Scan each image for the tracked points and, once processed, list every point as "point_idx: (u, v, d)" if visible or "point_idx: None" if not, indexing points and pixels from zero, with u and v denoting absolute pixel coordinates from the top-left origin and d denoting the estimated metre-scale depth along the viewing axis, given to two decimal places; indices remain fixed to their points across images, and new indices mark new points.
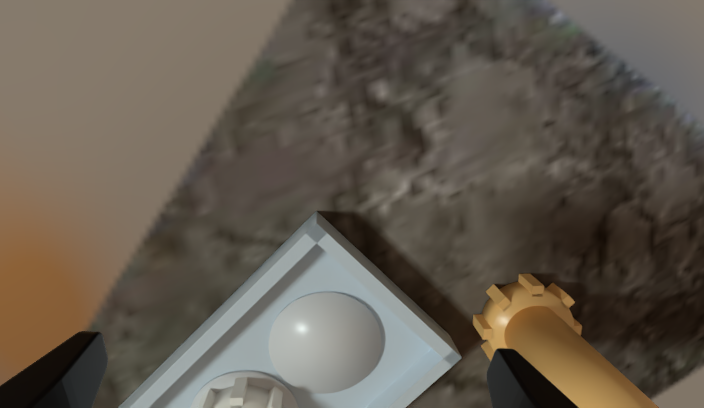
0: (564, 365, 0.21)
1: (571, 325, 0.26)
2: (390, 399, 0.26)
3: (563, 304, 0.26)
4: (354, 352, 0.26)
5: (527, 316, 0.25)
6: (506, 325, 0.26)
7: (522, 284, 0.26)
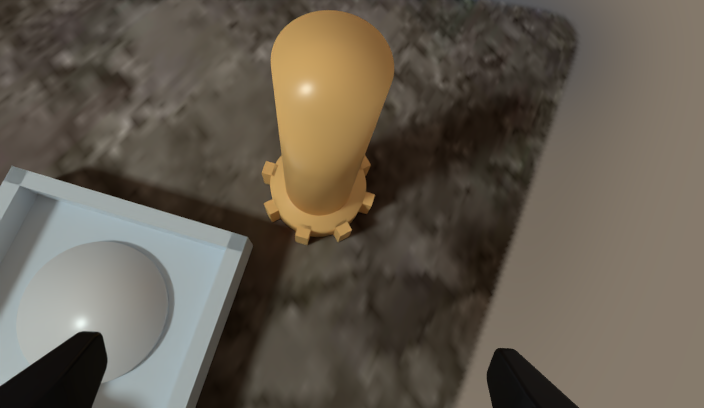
0: None
1: None
2: None
3: None
4: (133, 303, 0.21)
5: None
6: (285, 188, 0.23)
7: None
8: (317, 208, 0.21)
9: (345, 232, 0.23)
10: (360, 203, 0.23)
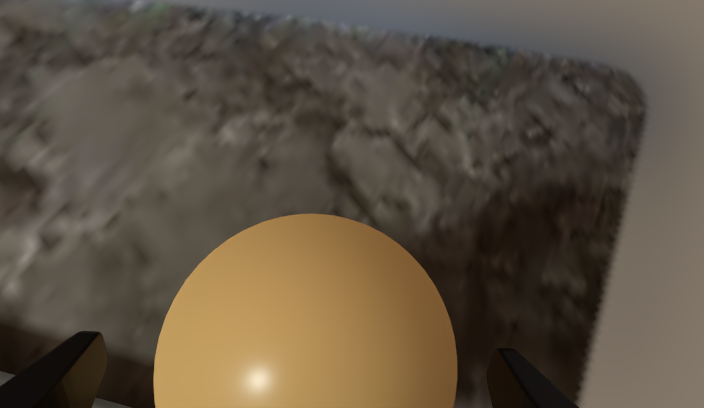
0: None
1: None
2: None
3: None
4: None
5: None
6: None
7: None
8: None
9: None
10: None
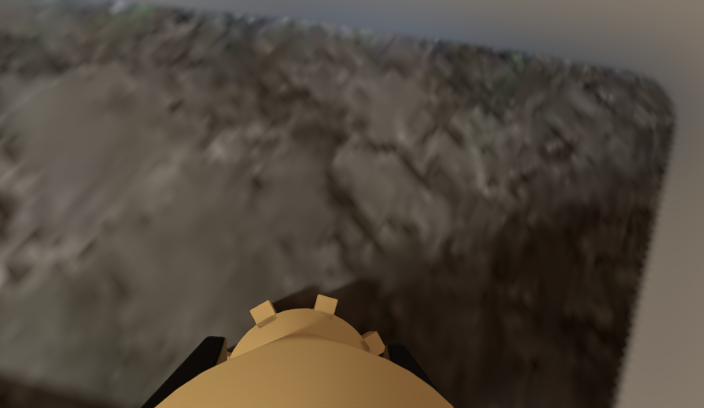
0: None
1: (359, 340, 0.15)
2: None
3: (320, 313, 0.15)
4: None
5: None
6: None
7: None
8: None
9: None
10: None
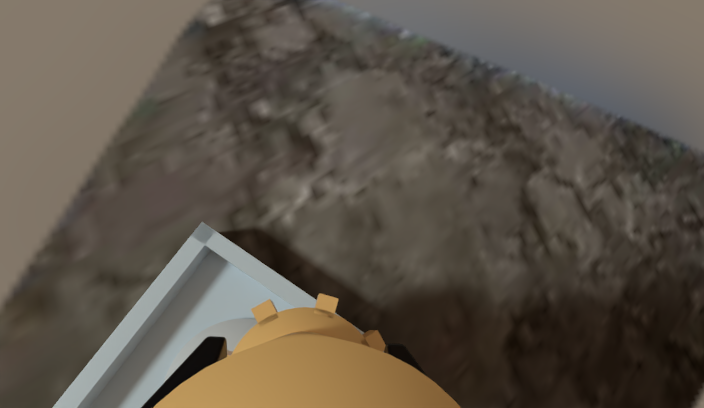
0: None
1: (360, 339, 0.15)
2: None
3: (321, 312, 0.15)
4: None
5: None
6: None
7: None
8: None
9: None
10: None
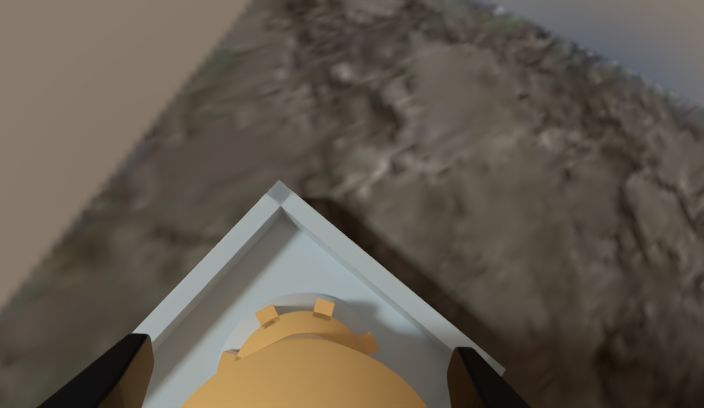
0: None
1: (354, 340, 0.16)
2: None
3: (319, 315, 0.16)
4: None
5: None
6: None
7: None
8: None
9: None
10: None
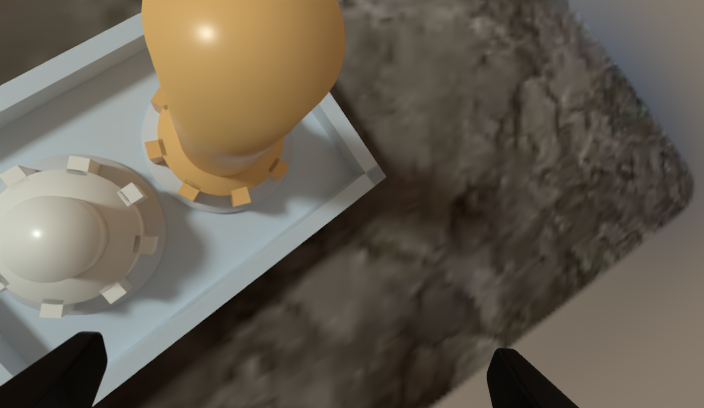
0: None
1: None
2: (295, 224, 0.20)
3: None
4: None
5: None
6: None
7: None
8: (211, 171, 0.17)
9: (242, 203, 0.18)
10: (269, 171, 0.19)
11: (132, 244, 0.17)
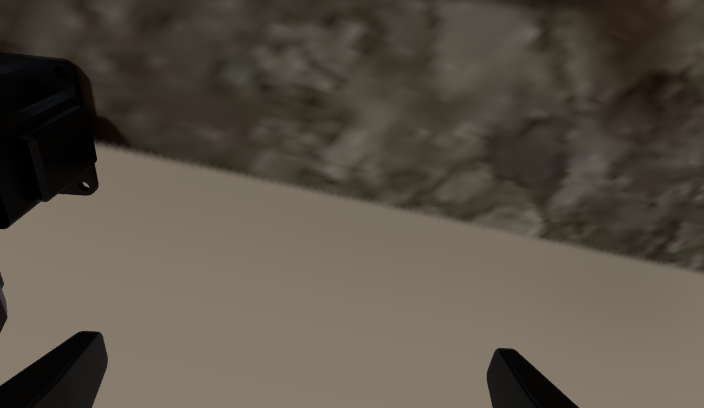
0: None
1: None
2: None
3: None
4: None
5: None
6: None
7: None
8: None
9: None
10: None
11: None
